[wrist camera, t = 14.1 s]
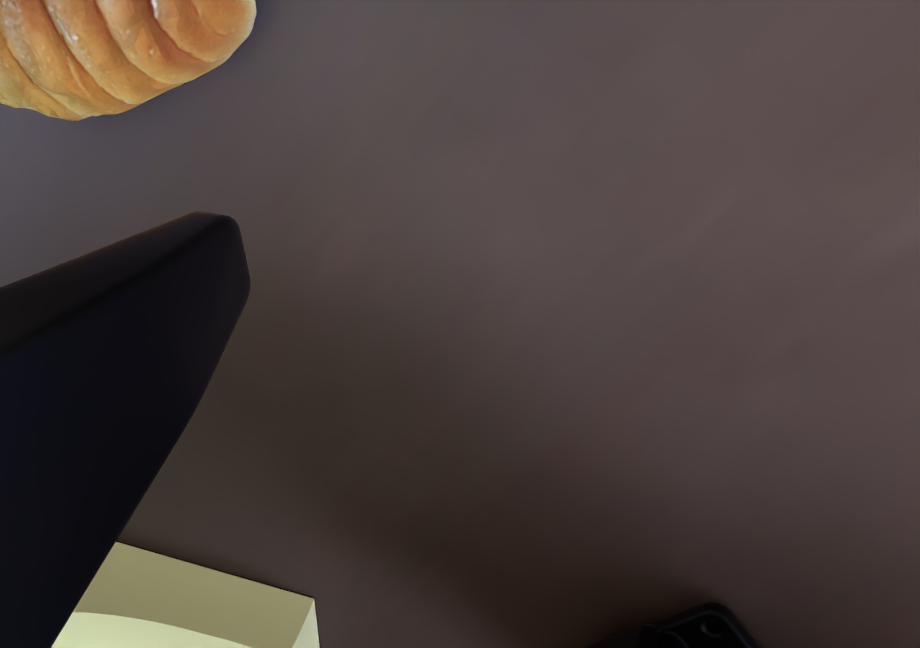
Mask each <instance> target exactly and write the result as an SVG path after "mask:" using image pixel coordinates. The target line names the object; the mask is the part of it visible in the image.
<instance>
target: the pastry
mask: <svg viewBox="0 0 920 648" xmlns="http://www.w3.org/2000/svg"><path fill="white" fill-rule="evenodd" d="M256 13H257V11H256V4H255V0H0V103H2V104H5V105H8V106H11V107H13V108H29V109H33V110H36V111H38V112H40V113H41V114H43V115H47V116H50V117H56V118H61V119H65V120H73V121H78V120H81V119H84V118H87V117H90V116H99V115H103V114H119V113H122V112H125V111H127V110H130V109H132V108H134V107H136V106H139V105H140V104H142V103H144V102H146V101H148V100H150V99H152V98H154V97H156V96H158V95H160V94H162V93H164V92H166V91H168V90H170V89H172V88H175V87H178V86H180V85H182V84H183V83H186V82H189V81H192V80H194V79H196V78H197V77H199V76H201V75H203V74H205V73H207V72H209V71H211V70H213V69H215V68H216V67H218V66H219V65H221V64H223V63H224V62H225V61H226V60H227V59H228V58H229V57H230V56H231V55H232V54H233V52H234V51H235V50H236V49H237V48H238V47H239V46H240V45H241V44H242V43H243V42H244V41H245V40H246V39H247V38H248V36H249V35H250V33H251V31H252V28H253V24H254V20H255V17H256Z"/></svg>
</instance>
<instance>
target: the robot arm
mask: <svg viewBox="0 0 920 648" xmlns="http://www.w3.org/2000/svg"><path fill="white" fill-rule="evenodd" d="M249 291H250V275H249V271H248V266H247V261H246V256H245V252H244V247H243V242H242V238H241V233H240V229H239V226H238V224H237V223H236V221H235V220H234V219H233V218H231V217H230V216H226V215H220V214H214V213H208V212H194V213H191V214H188V215H186V216H183V217H181V218H178V219H175V220H173V221H170V222H168V223H165V224H163V225H160V226H157V227H155V228H152V229H150V230H147V231H145V232H142V233H139V234H137V235H134V236H132V237H129V238H127V239H124V240H121V241H119V242H116V243H114V244H111V245H109V246H106V247H103V248H101V249H98V250H96V251H93V252H91V253H88V254H85V255H83V256H80V257H78V258H75V259H73V260H70V261H68V262H65V263H62V264H60V265H57V266H55V267H52V268H50V269H47V270H44V271H42V272H39V273H37V274H34V275H32V276H29V277H26V278H24V279H21V280H19V281H16V282H14V283H11V284H8V285H6V286H3V287H1V288H0V648H51V647H52V645H53V644H54V642H55V640H56V639H57V637H58V636H59V634H60V632H61V631H62V629H63V627H64V626H65V624H66V622H67V621H68V619H69V618H70V616H71V614H72V613H73V611H74V609H75V608H76V606H77V604H78V603H79V601H80V600H81V598H82V596H83V595H84V593H85V591H86V590H87V588H88V586H89V585H90V583H91V581H92V580H93V578H94V577H95V575H96V573H97V572H98V570H99V568H100V567H101V565H102V563H103V562H104V560H105V559H106V557H107V555H108V554H109V552H110V550H111V549H112V547H113V545H114V544H115V542H116V541H117V539H118V537H119V536H120V534H121V532H122V531H123V529H124V527H125V526H126V524H127V522H128V521H129V519H130V518H131V516H132V514H133V513H134V511H135V509H136V508H137V506H138V504H139V503H140V501H141V500H142V498H143V496H144V495H145V493H146V491H147V490H148V488H149V486H150V485H151V483H152V482H153V480H154V478H155V477H156V475H157V473H158V472H159V470H160V468H161V467H162V465H163V463H164V462H165V460H166V459H167V457H168V455H169V454H170V452H171V450H172V449H173V447H174V445H175V444H176V442H177V441H178V439H179V437H180V436H181V434H182V432H183V431H184V429H185V427H186V426H187V424H188V422H189V420H190V419H191V417H192V415H193V413H194V412H195V410H196V408H197V406H198V404H199V402H200V400H201V398H202V396H203V394H204V392H205V390H206V388H207V386H208V383H209V381H210V379H211V377H212V375H213V373H214V371H215V368H216V366H217V364H218V362H219V360H220V358H221V355H222V353H223V351H224V349H225V347H226V345H227V343H228V340H229V338H230V336H231V334H232V332H233V330H234V328H235V325H236V323H237V321H238V319H239V317H240V315H241V312H242V310H243V308H244V306H245V304H246V301H247V299H248V295H249ZM707 620H716V621H718V622H719V623H720V624H722V625H721V626H715V625H712V624H710V623H709V622H708V621H707ZM586 648H759V647H758V645H757V644H756V643H755V642H754V640H753V639H752V638H751V637H750V635H749V634H748V633H747V631H746V630H745V629H744V628H743V626H742V625H741V624H740V623H739V621H738V620H737V619H736V618H735V616H734V615H733V614H732V612H731V611H730V610H728V609H727V608H726V607H725V606H723V605H721V604H718V603H712V602H710V603H705V604H702V605H700V606H697V607H695V608H693V609H690V610H688V611H685V612H683V613H680V614H678V615H676V616H673V617H671V618H668V619H666V620H663V621H661V622H659V623H656V624H654V625H648V624H641V625H638V626H636V627H634V628H631V629H629V630H626V631H624V632H622V633H619V634H617V635H614V636H612V637H610V638H607V639H605V640H602V641H600V642H598V643H595V644H593V645H590V646H588V647H586Z"/></svg>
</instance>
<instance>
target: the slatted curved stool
mask: <svg viewBox="0 0 920 648" xmlns="http://www.w3.org/2000/svg"><path fill="white" fill-rule="evenodd" d="M51 648H320V646H319V638H318V629H317V620H316V611H315V602H314V599H313V598H309V597H306V596H303V595H299V594H296V593H292V592H289V591H285V590H282V589H278V588H275V587H271V586H268V585H264V584H261V583H257V582H254V581H251V580H247V579H244V578H240V577H237V576H233V575H230V574H226V573H223V572H219V571H216V570H212V569H209V568H206V567H202V566H199V565H195V564H192V563H188V562H185V561H181V560H178V559H174V558H171V557H167V556H164V555H160V554H157V553H154V552H150V551H147V550H143V549H140V548H136V547H133V546H129V545H126V544H122V543H119V542H115V544H114V545H113V547H112V549H111V550H110V552H109V554H108V555H107V557H106V559H105V560H104V562H103V563H102V565H101V567H100V568H99V570H98V572H97V573H96V575H95V577H94V578H93V580H92V581H91V583H90V585H89V586H88V588H87V590H86V591H85V593H84V595H83V596H82V598H81V600H80V601H79V603H78V604H77V606H76V608H75V609H74V611H73V613H72V614H71V616H70V618H69V619H68V621H67V622H66V624H65V626H64V627H63V629H62V631H61V632H60V634H59V636H58V637H57V639H56V640H55V642H54V644H53V645H52V647H51Z"/></svg>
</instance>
